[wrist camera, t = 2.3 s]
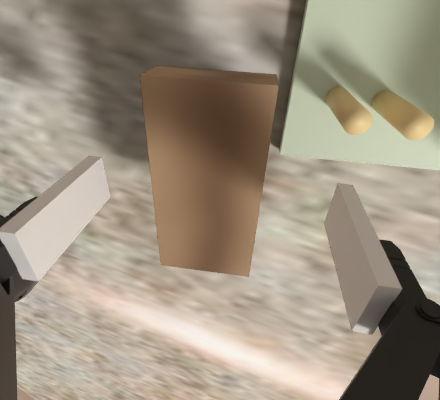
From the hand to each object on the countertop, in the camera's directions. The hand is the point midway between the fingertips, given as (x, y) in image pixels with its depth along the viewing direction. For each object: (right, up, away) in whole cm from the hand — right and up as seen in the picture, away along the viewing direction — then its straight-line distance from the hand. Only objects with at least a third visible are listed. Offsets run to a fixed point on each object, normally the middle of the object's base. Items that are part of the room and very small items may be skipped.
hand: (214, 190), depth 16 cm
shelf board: (0, +1, +2) cm, 2 cm away
